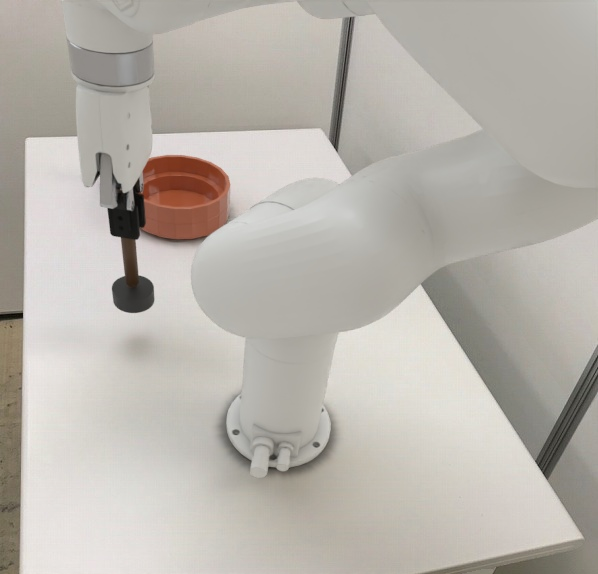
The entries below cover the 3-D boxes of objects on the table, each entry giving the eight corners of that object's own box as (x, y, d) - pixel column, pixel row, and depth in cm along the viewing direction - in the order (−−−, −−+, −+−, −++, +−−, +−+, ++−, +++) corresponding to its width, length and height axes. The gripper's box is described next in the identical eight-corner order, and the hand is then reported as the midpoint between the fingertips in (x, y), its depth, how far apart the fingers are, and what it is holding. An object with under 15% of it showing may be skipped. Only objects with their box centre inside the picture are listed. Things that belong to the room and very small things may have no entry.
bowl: (218, 249, 100) (219, 215, 96) (116, 233, 100) (112, 198, 96) (236, 196, 111) (237, 163, 107) (144, 181, 111) (141, 148, 107)
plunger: (148, 316, 78) (139, 200, 67) (108, 309, 78) (92, 193, 67) (159, 290, 82) (152, 176, 70) (120, 284, 82) (106, 169, 70)
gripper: (98, 23, 64) (116, 189, 78) (39, 87, 54) (71, 266, 67) (173, 36, 64) (177, 199, 78) (128, 101, 54) (142, 278, 67)
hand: (128, 229), depth 72 cm, fingers closed on plunger
